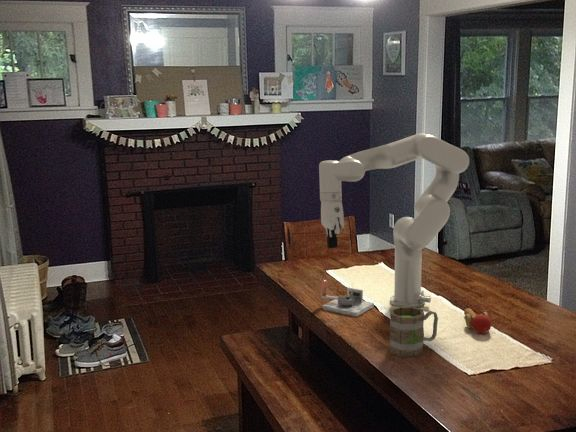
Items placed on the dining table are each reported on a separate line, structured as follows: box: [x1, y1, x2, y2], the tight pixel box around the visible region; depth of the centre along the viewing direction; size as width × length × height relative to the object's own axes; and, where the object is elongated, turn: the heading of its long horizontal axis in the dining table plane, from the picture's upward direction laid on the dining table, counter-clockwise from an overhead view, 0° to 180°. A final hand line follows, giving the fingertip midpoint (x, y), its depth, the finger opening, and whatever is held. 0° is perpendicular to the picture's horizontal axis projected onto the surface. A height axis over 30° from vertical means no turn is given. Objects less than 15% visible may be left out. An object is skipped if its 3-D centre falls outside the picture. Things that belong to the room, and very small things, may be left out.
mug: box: [388, 306, 439, 358], centre depth 197 cm, size 16×11×12 cm
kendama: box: [463, 307, 492, 334], centre depth 215 cm, size 8×6×18 cm
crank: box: [320, 279, 355, 306], centre depth 235 cm, size 12×6×8 cm, turn 68°
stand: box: [322, 287, 375, 318], centre depth 234 cm, size 14×12×6 cm
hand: (332, 247), depth 231 cm, fingers closed
